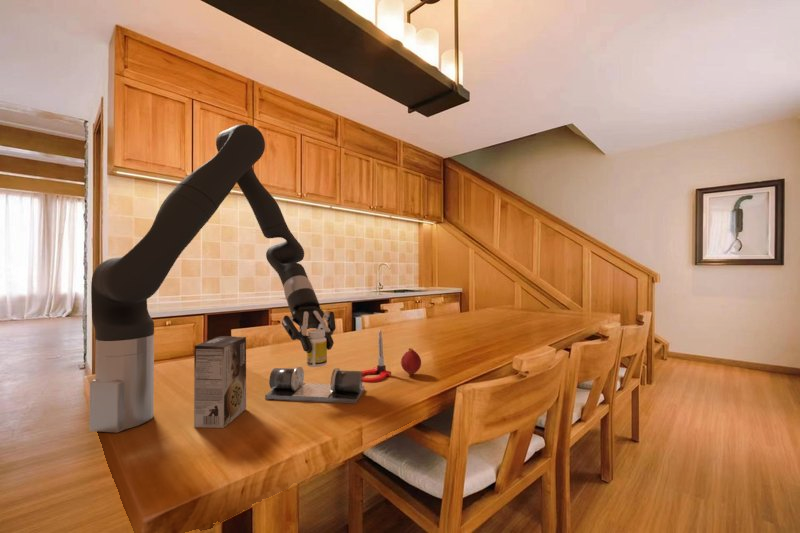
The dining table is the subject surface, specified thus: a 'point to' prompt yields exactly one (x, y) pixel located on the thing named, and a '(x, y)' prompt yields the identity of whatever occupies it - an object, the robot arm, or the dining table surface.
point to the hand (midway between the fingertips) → (320, 349)
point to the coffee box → (219, 381)
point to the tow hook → (381, 367)
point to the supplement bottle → (317, 348)
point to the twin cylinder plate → (315, 386)
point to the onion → (411, 362)
